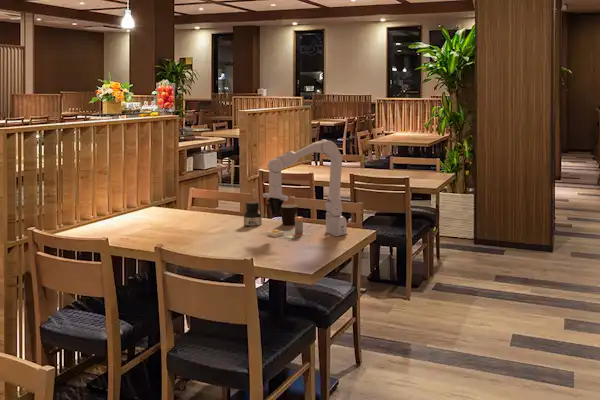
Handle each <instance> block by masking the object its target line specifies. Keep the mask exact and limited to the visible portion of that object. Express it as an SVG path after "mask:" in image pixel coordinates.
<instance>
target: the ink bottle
mask: <svg viewBox="0 0 600 400" xmlns="http://www.w3.org/2000/svg"><path fill="white" fill-rule="evenodd" d="M262 225H263V224H262V212H261V211H260V201H257V200H256V201H255V200H250V201H246V202H245V211H244V212H243V226H244V227H245V228H251V227H259V226H262Z"/></svg>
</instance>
